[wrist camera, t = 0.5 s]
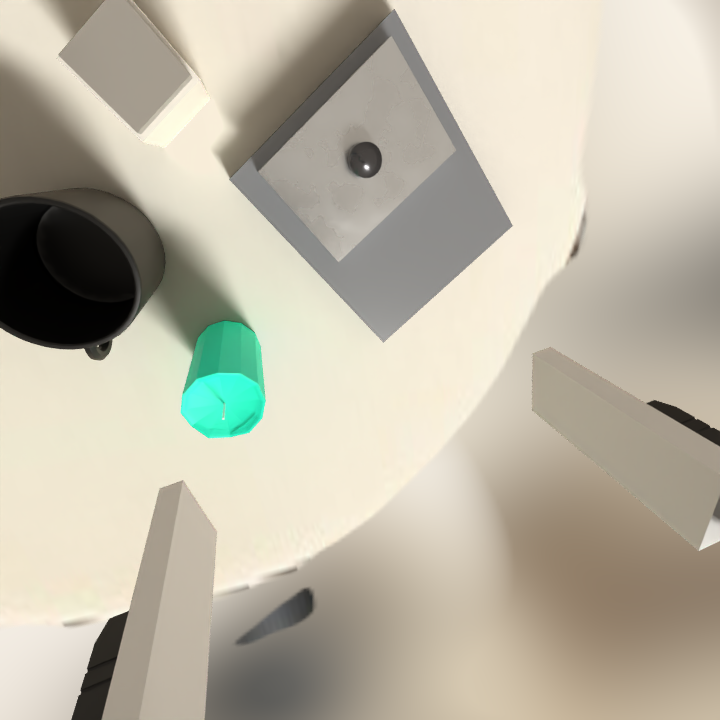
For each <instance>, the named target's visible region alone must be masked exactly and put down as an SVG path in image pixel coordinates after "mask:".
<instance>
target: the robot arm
mask: <svg viewBox="0 0 720 720" xmlns="http://www.w3.org/2000/svg"><path fill="white" fill-rule="evenodd" d="M532 374H533V375H532V379H533V380H532V384H533V385H532V411H534V412H535V413H536V414H537V415H538V416H539V417H541V418H542V419H543V420H544V421H545V422H547V423H548V424H549V425H550V426H551V427H553V428H554V429H555V430H556V431H557V432H558V433H560V434H561V435H562V436H563V437H564V438H566V439H567V440H568V441H569V442H570V443H571V444H573V445H574V446H575V447H576V448H577V449H579V450H580V451H581V452H582V453H583V454H584V455H586V456H587V457H588V458H589V459H590V460H592V461H593V462H594V463H595V464H596V465H598V466H599V467H600V468H601V469H602V470H603V471H605V472H606V473H607V474H608V475H609V476H611V477H612V478H613V479H614V480H615V481H616V482H618V483H619V484H620V485H621V486H623V487H624V488H625V489H626V490H627V491H628V492H630V493H631V494H632V495H633V496H634V497H635V498H637V499H638V500H639V501H640V502H641V503H643V504H644V505H645V506H646V507H647V508H649V509H650V510H651V511H652V512H653V513H654V514H656V515H657V516H658V517H659V518H660V519H662V520H663V521H664V522H665V523H666V524H667V525H669V526H670V527H671V528H672V529H673V530H675V531H676V532H677V533H678V534H679V535H680V536H682V537H683V538H684V539H685V540H687V541H688V542H689V543H690V544H691V545H692V546H694V547H695V548H696V549H697V550H698V551H699V550H701V549H704V548H706V547H708V546H710V545H712V544H714V543H716V542H719V541H720V431H718V430H717V429H715V428H710V426H709V425H708V424H706V423H704V422H702V421H700V420H698V419H697V420H696V419H695V418H694V417H693V416H691V415H690V414H688V413H686V412H684V411H682V410H681V409H679V408H677V407H674V406H671V405H668V404H665V403H662V402H659V401H656V400H654V401H651V402H649V403H645V402H643V401H641V400H640V399H638V398H636V397H634V396H633V395H631V394H629V393H628V392H626V391H624V390H623V389H621V388H619V387H618V386H616V385H614V384H612V383H611V382H609V381H607V380H606V379H604V378H602V377H600V376H599V375H597V374H595V373H594V372H592V371H590V370H589V369H587V368H585V367H584V366H582V365H580V364H578V363H577V362H575V361H573V360H572V359H570V358H568V357H567V356H565V355H563V354H561V353H560V352H558V351H556V350H555V349H553V348H551V347H549V348H546V349H544V350H541V351H538V352H536V353H533V372H532ZM216 538H217V531H216V529H215V528H214V526H213V525H212V523H211V522H210V520H209V519H208V517H207V516H206V514H205V513H204V511H203V510H202V508H201V507H200V505H199V504H198V502H197V501H196V499H195V498H194V496H193V495H192V493H191V492H190V490H189V489H188V487H187V486H186V484H185V482H184V481H183V480H182V481H180V482H177V483H174V484H171V485H169V486H166V487H163V488H160V490H159V493H158V497H157V501H156V505H155V509H154V513H153V517H152V521H151V525H150V529H149V533H148V537H147V541H146V545H145V549H144V553H143V557H142V561H141V565H140V569H139V573H138V577H137V581H136V585H135V589H134V593H133V597H132V601H131V605H130V609H129V611H128V612H125V613H123V614H120V615H118V616H115V617H113V618H110V619H109V620H108V622H107V624H106V625H105V627H104V629H103V630H102V632H101V634H100V636H99V637H98V639H97V641H96V642H95V644H94V648H93V651H92V654H91V657H90V661H89V664H88V667H87V669H88V672H87V673H86V674H85V677H84V680H83V684H82V687H81V695H79V697H78V700H77V703H76V706H75V710H74V713H73V716H72V720H204V719H205V704H206V689H207V674H208V659H209V643H210V628H211V613H212V599H213V583H214V568H215V553H216Z"/></svg>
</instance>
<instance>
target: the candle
mask: <svg viewBox="0 0 720 720" xmlns="http://www.w3.org/2000/svg"><path fill="white" fill-rule="evenodd" d="M265 401H266V400H265V389H264V379H263V368H262V357H261V346H260V344H259V341H258V339H257V337H256V335H255V332H253V331H252V330H250V329H249V328H248V327H246V326H245V325H244V324H242V323H238V322H232V321H225V320H224V321H221V322H218V323H215V324H212V325H209V326H208V327H207V328H206V329H205V330H204V331H203V332H202V334H201V335H200V336H199V337H198V339H197V343H196V347H195V350H194V354H193V358H192V361H191V365H190V369H189V373H188V376H187V380H186V384H185V387H184V391H183V395H182V405H181V414H182V415H183V416H184V418H185V419H186V420H187V421H188V423H189V424H190V425H191V426H192V427H193V428H195V429H196V430H198V431H199V432H200V433H202V434H203V435H205V436H206V437H208V438H224V437H233V436H237V435H241V434H246V433H249V432H250V431H251V430H252V429H253V428H254V427H255V426H256V425H257V423H258V422H259V421H260V420H261V419H262V417H263V412H264V406H265Z"/></svg>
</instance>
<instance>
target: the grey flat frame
mask: <svg viewBox="0 0 720 720" xmlns="http://www.w3.org/2000/svg"><path fill="white" fill-rule="evenodd" d="M391 36H392V38H393V39H394V41H395V43H396V45H397V46H398V48H399V50H400V52H401V54H402V55H403V57H404V59H405V61H406V62H407V64H408V66H409V68H410V69H411V71H412V73H413V75H414V76H415V78H416V80H417V82H418V83H419V85H420V87H421V89H422V91H423V92H424V94H425V96H426V98H427V99H428V101H429V103H430V105H431V106H432V108H433V110H434V112H435V113H436V115H437V117H438V119H439V121H440V122H441V124H442V126H443V128H444V129H445V131H446V133H447V135H448V136H449V138H450V140H451V142H452V143H453V145H454V147H455V149H456V151H455V152H454V153H453V154H452V155H451V156H450V157H449V158H448V159H447V160H446V161H444V162H443V163H442V164H441V165H440V166H439V167H438V168H437V169H436V170H435V171H434V172H433V173H432V174H431V175H430V176H429V177H428V178H427V179H426V180H425V181H424V182H422V183H421V184H420V185H419V186H418V187H417V188H416V189H415V190H414V191H413V192H412V193H411V194H410V195H409V196H408V197H407V198H406V199H405V200H404V201H403V202H401V203H400V204H399V205H398V206H397V207H396V208H395V209H394V210H393V211H392V212H391V213H390V214H389V215H388V216H387V217H386V218H385V219H384V220H383V221H382V222H380V223H379V224H378V225H377V226H376V227H375V228H374V229H373V230H372V231H371V232H370V233H369V234H368V235H367V236H366V237H365V238H364V239H363V240H362V241H361V242H359V243H358V244H357V245H356V246H355V247H354V248H353V249H352V250H351V251H350V252H349V253H348V254H347V255H346V256H345V257H344V258H343V259H342V260H341V261H340V262H338V261H337V260H336V259H335V258H334V257H333V256H332V255H331V254H330V252H329V251H328V250H327V249H326V248H325V247H324V246H323V245H322V243H321V242H320V241H319V240H318V239H317V238H316V237H315V236H314V234H313V233H312V232H311V231H310V230H309V229H308V228H307V227H306V225H305V224H304V223H303V222H302V221H301V220H300V219H299V218H298V217H297V215H296V214H295V213H294V212H293V211H292V210H291V209H290V208H289V206H288V205H287V204H286V203H285V202H284V201H283V200H282V199H281V197H280V196H279V195H278V194H277V193H276V192H275V191H274V190H273V188H272V187H271V186H270V185H269V184H268V183H267V182H266V181H265V179H264V178H263V177H262V176H261V175H260V174H259V173H258V171H259V170H260V169H261V168H262V166H263V165H264V164H265V163H266V162H267V161H268V160H269V159H270V158H271V157H272V156H273V155H274V154H275V153H276V152H277V151H278V150H279V149H280V148H281V147H282V146H283V145H284V144H285V143H286V142H287V141H288V140H289V139H290V138H291V137H292V136H293V135H294V134H295V133H296V132H297V131H298V130H299V129H300V128H301V127H302V126H303V125H304V124H305V122H306V121H307V120H308V119H309V118H310V117H311V116H312V115H313V114H314V113H315V112H316V111H317V110H318V109H319V108H320V107H321V106H322V105H323V104H324V103H325V102H326V101H327V100H328V99H329V98H330V97H331V96H332V95H333V94H334V93H335V92H336V91H337V90H338V89H339V88H340V87H341V86H342V85H343V84H344V83H345V82H346V81H347V79H348V78H349V77H350V76H351V75H352V74H353V73H354V72H355V71H356V70H357V69H358V68H359V67H360V66H361V65H362V64H363V63H364V62H365V61H366V60H367V59H368V58H369V57H370V56H371V55H372V54H373V53H374V52H375V51H376V50H377V49H378V48H379V47H380V46H381V45H382V44H383V43H384V42H385V41H386V40H387V39H388V38H389V37H391ZM229 180H230V181H231V182H232V183H233V184H234V185H235V186H236V187H237V188H238V189H239V190H240V191H241V192H242V193H243V194H244V195H245V197H246V198H247V199H248V200H249V201H250V202H251V203H252V204H253V205H254V206H255V207H256V208H257V209H258V210H259V211H260V212H261V213H262V215H263V216H264V217H265V218H266V219H267V220H268V221H269V222H270V223H271V224H272V225H273V226H274V227H275V228H276V229H277V230H278V231H279V233H280V234H281V235H282V236H283V237H284V238H285V239H286V240H287V241H288V242H289V243H290V244H291V245H292V246H293V247H294V248H295V249H296V251H297V252H298V253H299V254H300V255H301V256H302V257H303V258H304V259H305V260H306V261H307V262H308V263H309V264H310V265H311V266H312V267H313V268H314V270H315V271H316V272H317V273H318V274H319V275H320V276H321V277H322V278H323V279H324V280H325V281H326V282H327V283H328V284H329V285H330V286H331V288H332V289H333V290H334V291H335V292H336V293H337V294H338V295H339V296H340V297H341V298H342V299H343V300H344V301H345V302H346V303H347V304H348V306H349V307H350V308H351V309H352V310H353V311H354V312H355V313H356V314H357V315H358V316H359V317H360V318H361V319H362V320H363V321H364V322H365V324H366V325H367V326H368V327H369V328H370V329H371V330H372V331H373V332H374V333H375V334H376V335H377V336H378V337H379V338H380V339H381V340H382V342H383V343H384V342H385V341H386V340H387V339H388V338H389V337H390V336H391V335H392V334H393V333H395V332H396V331H397V330H398V329H399V328H400V327H401V326H402V325H403V324H405V323H406V322H407V321H408V320H409V319H410V318H411V317H412V316H413V315H415V314H416V313H417V312H418V311H419V310H420V309H421V308H422V307H423V306H424V305H426V304H427V303H428V302H429V301H430V300H431V299H432V298H433V297H434V296H436V295H437V294H438V293H439V292H440V291H441V290H442V289H443V288H444V287H445V286H447V285H448V284H449V283H450V282H451V281H452V280H453V279H454V278H455V277H457V276H458V275H459V274H460V273H461V272H462V271H463V270H464V269H465V268H467V267H468V266H469V265H470V264H471V263H472V262H473V261H474V260H475V259H476V258H478V257H479V256H480V255H481V254H482V253H483V252H484V251H485V250H486V249H488V248H489V247H490V246H491V245H492V244H493V243H494V242H495V241H496V240H497V239H499V238H500V237H501V236H502V235H503V234H504V233H505V232H506V231H507V230H509V229H510V228H511V227H512V224H511V222H510V220H509V218H508V216H507V215H506V213H505V211H504V209H503V207H502V205H501V204H500V202H499V200H498V198H497V196H496V194H495V193H494V191H493V189H492V187H491V185H490V183H489V182H488V180H487V178H486V176H485V174H484V172H483V171H482V169H481V167H480V165H479V163H478V161H477V160H476V158H475V156H474V154H473V152H472V150H471V148H470V147H469V145H468V143H467V141H466V139H465V137H464V136H463V134H462V132H461V130H460V128H459V126H458V125H457V123H456V121H455V119H454V117H453V115H452V114H451V112H450V110H449V108H448V106H447V104H446V103H445V101H444V99H443V97H442V95H441V93H440V92H439V90H438V88H437V86H436V84H435V82H434V81H433V79H432V77H431V75H430V73H429V71H428V70H427V68H426V66H425V64H424V62H423V60H422V59H421V57H420V55H419V53H418V51H417V49H416V48H415V46H414V44H413V42H412V40H411V38H410V37H409V35H408V33H407V31H406V29H405V27H404V25H403V24H402V22H401V20H400V18H399V16H398V14H397V13H396V11H395V9H394V10H393V11H392V12H391V13H390V14H389V15H388V16H387V17H386V18H385V19H384V20H383V21H382V22H381V23H380V24H379V25H378V26H377V27H376V28H375V29H374V30H373V31H372V32H371V34H370V35H369V36H368V37H367V38H366V39H365V40H364V41H363V42H362V43H361V44H360V45H359V46H358V47H357V48H356V49H355V50H354V51H353V52H352V53H351V54H350V55H349V56H348V57H347V58H346V59H345V60H344V61H343V62H342V63H341V64H340V66H339V67H338V68H337V69H336V70H335V71H334V72H333V73H332V74H331V75H330V76H329V77H328V78H327V79H326V80H325V81H324V82H323V83H322V84H321V85H320V86H319V87H318V88H317V89H316V90H315V91H314V92H313V93H312V94H311V95H310V96H309V98H308V99H307V100H306V101H305V102H304V103H303V104H302V105H301V106H300V107H299V108H298V109H297V110H296V111H295V112H294V113H293V114H292V115H291V116H290V117H289V118H288V119H287V120H286V121H285V122H284V123H283V124H282V125H281V126H280V127H279V128H278V130H277V131H276V132H275V133H274V134H273V135H272V136H271V137H270V138H269V139H268V140H267V141H266V142H265V143H264V144H263V145H262V146H261V147H260V148H259V149H258V150H257V151H256V152H255V153H254V154H253V155H252V156H251V157H250V158H249V159H248V160H247V162H246V163H245V164H244V165H243V166H242V167H241V168H240V169H239V170H238V171H237V172H236V173H235V174H234V175H233V176H232V177H231V178H230V179H229Z"/></svg>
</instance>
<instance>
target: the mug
mask: <svg viewBox="0 0 720 720" xmlns="http://www.w3.org/2000/svg"><path fill="white" fill-rule="evenodd" d="M164 269H165V253H164V249H163V245H162V242H161V240H160V237H159V235H158V233H157V232H156V230H155V228H154V227H153V225H152V224H151V223H150V221H149V220H148V219H147V218H146V217H145V216H144V215H143V214H142V213H141V212H140V211H139V210H138V209H137V208H135V207H134V206H133V205H131V204H130V203H128V202H127V201H125V200H123V199H121V198H119V197H117V196H115V195H113V194H110V193H108V192H104V191H100V190H96V189H88V188H74V189H66V190H58V191H50V192H42V193H34V194H25V195H17V196H11V197H5V198H1V199H0V328H2V329H3V330H5V331H6V332H8V333H10V334H12V335H14V336H16V337H18V338H20V339H22V340H25V341H28V342H30V343H33V344H37V345H41V346H44V347H49V348H57V349H82V348H84V349H85V351H86V353H87V355H88V356H89V357H90V358H91V359H94V360H103V359H104V358H105V357H106V356H107V355H108V354H109V352H110V350H111V346H112V339H114V338H115V337H117V336H119V335H120V334H121V333H122V332H123V331H125V330H126V329H127V328H128V327H129V325H130V324H131V323H132V322H133V320H134V319H135V318H136V316H137V315H138V314H139V312H140V311H141V309H142V308H143V307H144V305H145V304H146V302H147V301H148V300H149V298H150V297H151V296H152V294H153V293H154V291H155V290H156V289H157V287H158V286H159V284H160V282H161V280H162V277H163V274H164ZM97 345H99V347H97Z"/></svg>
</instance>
